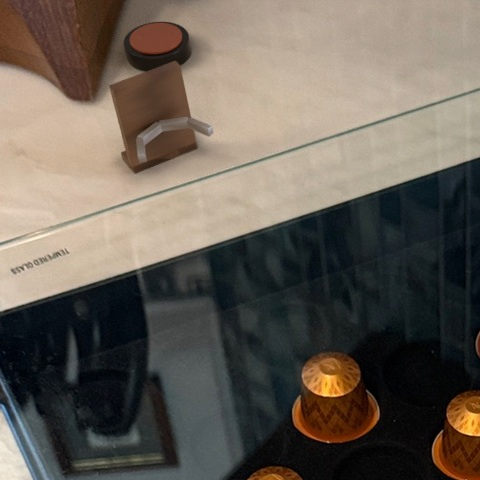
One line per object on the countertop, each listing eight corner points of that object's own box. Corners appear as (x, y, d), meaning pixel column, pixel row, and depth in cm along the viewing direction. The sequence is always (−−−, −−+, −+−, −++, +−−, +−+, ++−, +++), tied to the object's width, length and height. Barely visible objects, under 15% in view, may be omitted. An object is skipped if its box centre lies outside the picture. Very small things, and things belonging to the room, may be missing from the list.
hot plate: (144, 80, 170) (140, 63, 168) (115, 49, 174) (111, 33, 173) (203, 58, 173) (200, 41, 171) (173, 28, 177) (170, 12, 176)
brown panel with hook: (148, 197, 156) (128, 113, 148) (118, 161, 160) (96, 78, 152) (221, 167, 159) (205, 84, 151) (189, 133, 164) (171, 50, 155)
